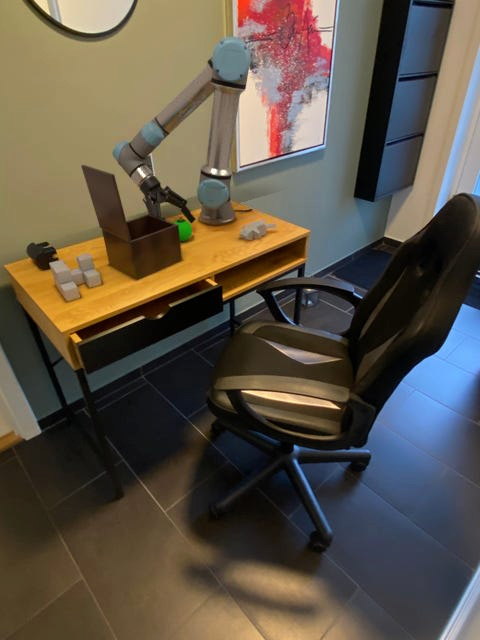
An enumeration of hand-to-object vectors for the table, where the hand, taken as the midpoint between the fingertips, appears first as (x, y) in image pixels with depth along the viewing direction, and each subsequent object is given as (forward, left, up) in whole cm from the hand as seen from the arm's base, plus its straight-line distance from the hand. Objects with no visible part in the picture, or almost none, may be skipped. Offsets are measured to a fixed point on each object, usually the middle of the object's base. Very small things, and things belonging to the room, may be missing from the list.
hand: (183, 227), depth 149 cm
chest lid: (+31, +4, +18) cm, 36 cm away
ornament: (0, -1, -6) cm, 6 cm away
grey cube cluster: (+45, +3, -6) cm, 46 cm away
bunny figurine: (-23, +17, -6) cm, 29 cm away
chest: (+21, +4, -5) cm, 22 cm away
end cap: (+45, -21, -6) cm, 50 cm away
